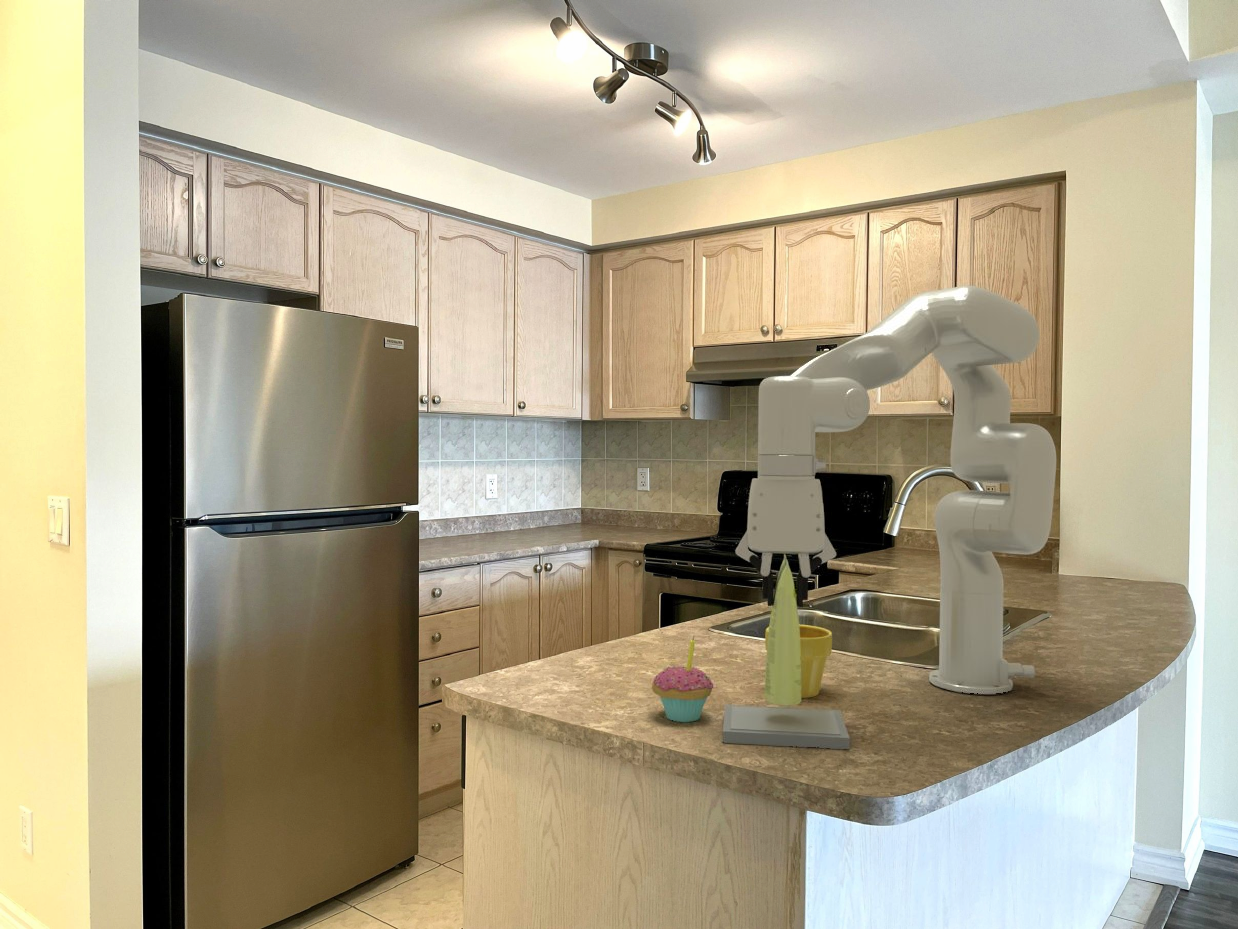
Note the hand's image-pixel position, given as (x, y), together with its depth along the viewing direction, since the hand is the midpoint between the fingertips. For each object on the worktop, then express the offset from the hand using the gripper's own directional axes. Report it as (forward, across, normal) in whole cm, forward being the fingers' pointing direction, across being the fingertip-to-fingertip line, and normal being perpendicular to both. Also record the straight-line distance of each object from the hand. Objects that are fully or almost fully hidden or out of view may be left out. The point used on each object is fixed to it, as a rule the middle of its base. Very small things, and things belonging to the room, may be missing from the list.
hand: (784, 603), depth 118 cm
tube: (+13, 0, 0) cm, 13 cm away
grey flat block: (+17, 0, 0) cm, 17 cm away
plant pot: (+18, -3, -20) cm, 27 cm away
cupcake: (+18, +14, -4) cm, 23 cm away
